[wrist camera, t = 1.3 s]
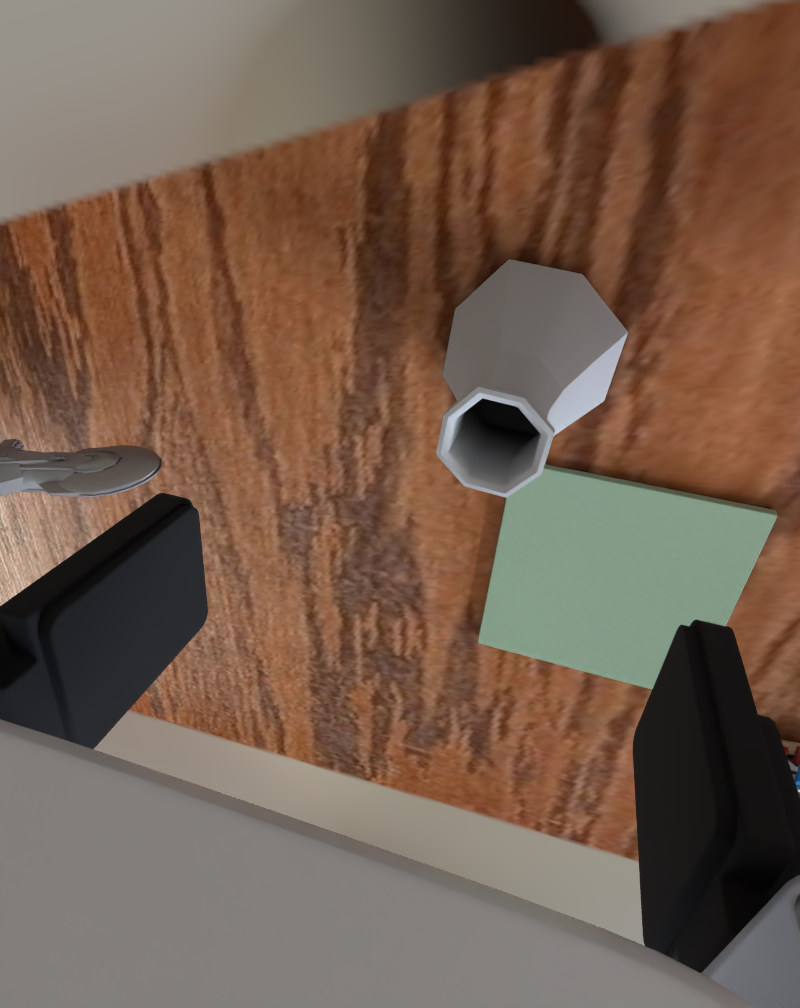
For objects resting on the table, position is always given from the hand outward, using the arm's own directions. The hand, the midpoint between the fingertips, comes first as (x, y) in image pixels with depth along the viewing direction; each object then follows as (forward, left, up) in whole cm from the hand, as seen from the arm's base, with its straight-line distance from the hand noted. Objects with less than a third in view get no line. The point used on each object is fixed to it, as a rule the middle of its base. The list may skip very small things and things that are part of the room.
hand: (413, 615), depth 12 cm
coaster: (+10, +6, -17) cm, 20 cm away
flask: (-1, 0, -17) cm, 17 cm away
